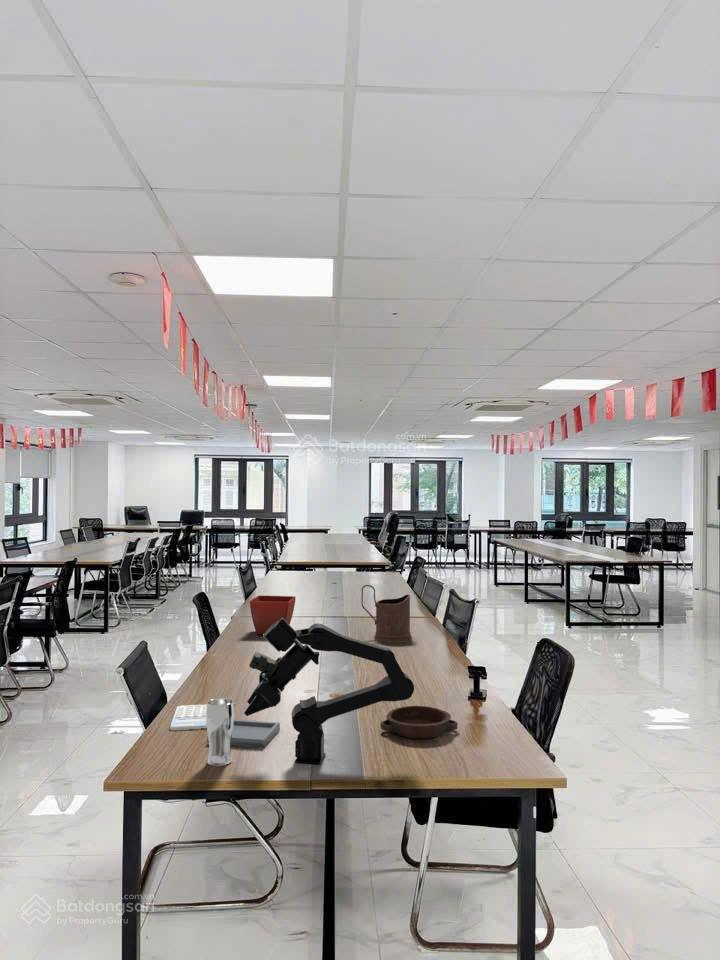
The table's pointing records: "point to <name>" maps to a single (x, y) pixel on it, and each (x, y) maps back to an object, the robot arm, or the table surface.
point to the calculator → (189, 717)
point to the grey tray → (253, 733)
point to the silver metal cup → (219, 730)
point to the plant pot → (271, 611)
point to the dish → (418, 722)
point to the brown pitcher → (392, 619)
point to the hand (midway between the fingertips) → (247, 708)
